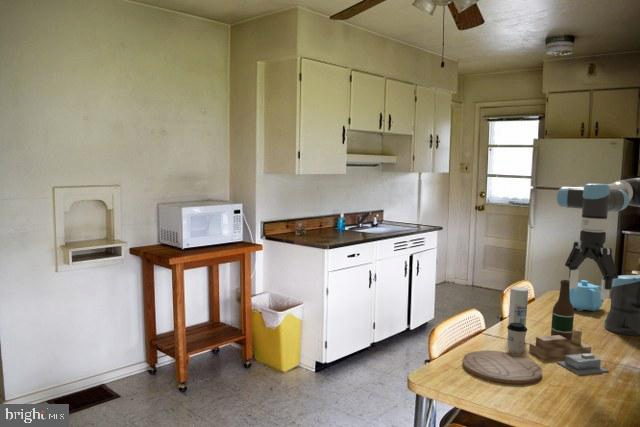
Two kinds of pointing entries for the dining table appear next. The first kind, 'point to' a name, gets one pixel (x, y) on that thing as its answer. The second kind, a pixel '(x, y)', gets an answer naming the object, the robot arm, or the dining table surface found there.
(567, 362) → the lever cap
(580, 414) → the dining table surface
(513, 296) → the spray can
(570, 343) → the plane body
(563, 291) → the beer bottle
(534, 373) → the trivet
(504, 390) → the dining table surface
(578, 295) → the decorative pot
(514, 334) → the coffee cup
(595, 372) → the mat
